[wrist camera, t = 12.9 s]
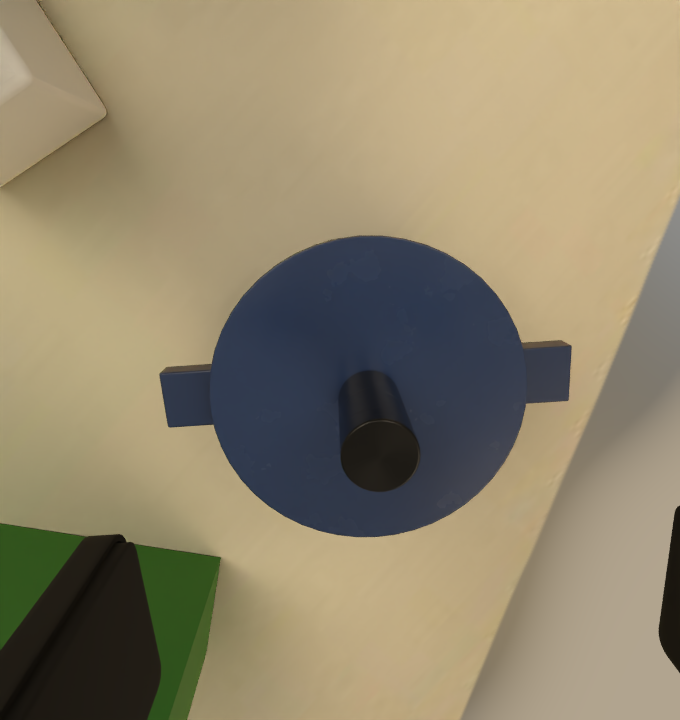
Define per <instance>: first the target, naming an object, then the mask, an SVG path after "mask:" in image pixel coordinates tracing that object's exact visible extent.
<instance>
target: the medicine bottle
mask: <svg viewBox="0 0 680 720" xmlns="http://www.w3.org/2000/svg"><path fill="white" fill-rule="evenodd" d="M106 112H107V111H106V108H105V106H104V105H103V103H102V102H101V100H100V99H99V97H98V96H97V94H96V92H95V91H94V89H93V88H92V86H91V85H90V83H89V82H88V80H87V78H86V77H85V75H84V74H83V72H82V71H81V69H80V68H79V66H78V65H77V63H76V61H75V60H74V58H73V57H72V55H71V54H70V52H69V51H68V49H67V47H66V46H65V44H64V43H63V41H62V40H61V38H60V37H59V35H58V33H57V32H56V30H55V29H54V27H53V26H52V24H51V23H50V21H49V20H48V18H47V16H46V15H45V13H44V12H43V10H42V9H41V7H40V6H39V4H38V2H37V1H36V0H0V187H2V186H3V185H5V184H6V183H8V182H9V181H11V180H12V179H14V178H15V177H17V176H18V175H20V174H21V173H23V172H24V171H25V170H27V169H28V168H30V167H31V166H33V165H34V164H36V163H37V162H39V161H40V160H42V159H43V158H45V157H46V156H48V155H49V154H51V153H52V152H54V151H55V150H57V149H58V148H60V147H61V146H63V145H64V144H66V143H67V142H69V141H70V140H72V139H73V138H74V137H76V136H77V135H79V134H80V133H82V132H83V131H85V130H86V129H88V128H89V127H91V126H92V125H94V124H95V123H97V122H98V121H100V120H101V119H103V118H104V117H105V116H106Z"/></svg>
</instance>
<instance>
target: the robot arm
mask: <svg viewBox="0 0 680 720" xmlns="http://www.w3.org/2000/svg"><path fill="white" fill-rule="evenodd" d="M659 638H660V642H661V645H662V647H663V650H664V652H665V653H666V655H667V656H668V658H669V659H670V660H671V662H672V663H673V664H674V666H675V667H676V668H677V670H678V671H679V673H680V506H678V507H677V508H676V511H675V515H674V522H673V529H672V536H671V543H670V551H669V559H668V566H667V572H666V580H665V587H664V594H663V602H662V609H661V616H660V624H659ZM160 679H161V661H160V657H159V652H158V647H157V643H156V638H155V633H154V629H153V624H152V619H151V615H150V610H149V605H148V601H147V596H146V591H145V587H144V582H143V577H142V573H141V568H140V563H139V559H138V554H137V550H136V547H135V545H134V543H132V542H126V540H125V538H124V537H123V535H120V534H115V535H100V536H88V537H85V538H84V539H83V540H82V541H81V542H80V544H79V545H78V546H77V548H76V549H75V551H74V552H73V553H72V555H71V556H70V557H69V559H68V560H67V561H66V563H65V564H64V565H63V567H62V568H61V569H60V571H59V572H58V573H57V575H56V576H55V577H54V579H53V580H52V582H51V583H50V584H49V586H48V587H47V588H46V590H45V591H44V592H43V594H42V595H41V596H40V598H39V599H38V600H37V602H36V603H35V604H34V606H33V607H32V608H31V610H30V611H29V612H28V614H27V615H26V617H25V618H24V619H23V621H22V622H21V623H20V625H19V626H18V627H17V629H16V630H15V631H14V633H13V634H12V635H11V637H10V638H9V639H8V641H7V642H6V643H5V645H4V646H3V648H2V649H1V650H0V720H147V719H148V716H149V713H150V710H151V708H152V705H153V702H154V699H155V696H156V694H157V691H158V688H159V684H160Z"/></svg>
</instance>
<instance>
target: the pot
mask: <svg viewBox="0 0 680 720" xmlns="http://www.w3.org/2000/svg"><path fill="white" fill-rule="evenodd" d="M333 240H334V239H333ZM328 241H331V240H328ZM326 242H327V241H326ZM521 344H522V347H523V351H524V356H525V362H526V367H527V396H526V404H527V403H542V402H557V401H568V400H569V383H570V365H571V348H572V347H571V345H569V344H567V343H565V342H563V341H561V340H558V341H543V342H528V343H521ZM211 365H212V364H204V365H190V366H175V367H166V368H165V369H164V370H163V371H162V372H161V373H160V381H161V387H162V393H163V399H164V405H165V411H166V417H167V423H168V427H184V426H199V425H214V423H213V419H212V414H211V409H210V395H209V384H210V370H211Z"/></svg>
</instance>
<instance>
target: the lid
mask: <svg viewBox="0 0 680 720" xmlns="http://www.w3.org/2000/svg"><path fill="white" fill-rule="evenodd" d="M209 395H210V409H211V414H212V419H213V423H214V428H215V431H216V434H217V436H218V439H219V442H220V445H221V447H222V449H223V451H224V453H225V455H226V457H227V459H228V461H229V463H230V464H231V466H232V467H233V469H234V470H235V471H236V473H237V474H238V476H239V477H240V479H241V480H242V481H243V482H244V483H245V484H246V485H247V486H248V487H249V489H250V490H251V491H252V492H253V493H254V494H255V495H256V496H258V497H259V498H260V499H261V500H262V501H263V502H265V503H266V504H267V505H268V506H270V507H271V508H273V509H274V510H276V511H277V512H279V513H280V514H282V515H283V516H285V517H287V518H289V519H291V520H293V521H295V522H297V523H299V524H301V525H304V526H307V527H310V528H313V529H316V530H318V531H322V532H327V533H331V534H336V535H342V536H352V537H379V536H387V535H395V534H400V533H404V532H408V531H412V530H415V529H418V528H421V527H424V526H426V525H429V524H432V523H434V522H436V521H438V520H440V519H442V518H444V517H446V516H448V515H450V514H451V513H453V512H454V511H456V510H457V509H459V508H460V507H462V506H463V505H465V504H466V503H467V502H468V501H470V500H471V499H472V498H473V497H474V496H476V495H477V494H478V493H479V492H480V491H481V490H482V489H483V488H484V487H485V486H486V485H487V484H488V483H489V482H490V480H491V479H492V478H493V477H494V476H495V474H496V473H497V472H498V470H499V469H500V467H501V466H502V465H503V463H504V462H505V460H506V458H507V456H508V455H509V453H510V451H511V449H512V447H513V445H514V443H515V440H516V438H517V435H518V433H519V430H520V427H521V424H522V420H523V415H524V411H525V406H526V396H527V367H526V362H525V356H524V351H523V347H522V344H521V341H520V337H519V334H518V331H517V329H516V327H515V325H514V323H513V321H512V319H511V317H510V315H509V313H508V311H507V309H506V308H505V306H504V305H503V303H502V302H501V300H500V299H499V298H498V296H497V295H496V293H495V292H494V291H493V290H492V289H491V288H490V287H489V286H488V285H487V284H486V283H485V281H484V280H483V279H482V278H481V277H479V276H478V275H477V274H476V273H474V272H473V271H472V270H471V269H470V268H468V267H467V266H466V265H465V264H463V263H461V262H460V261H458V260H456V259H455V258H453V257H451V256H450V255H448V254H446V253H444V252H442V251H439V250H437V249H435V248H432V247H430V246H428V245H425V244H422V243H418V242H414V241H411V240H407V239H403V238H396V237H389V236H353V237H346V238H338V239H334V240H331V241H327V242H323V243H320V244H316V245H314V246H311V247H309V248H307V249H304V250H302V251H300V252H297V253H295V254H294V255H292V256H290V257H289V258H287V259H285V260H284V261H282V262H280V263H279V264H277V265H276V266H274V267H273V268H272V269H271V270H269V271H268V272H267V273H266V274H264V275H263V276H262V277H261V278H259V279H258V280H257V281H256V283H255V284H254V285H253V286H252V287H251V288H250V289H249V290H248V291H247V292H246V293H245V294H244V295H243V297H242V298H241V299H240V301H239V302H238V304H237V305H236V306H235V308H234V309H233V311H232V312H231V314H230V316H229V318H228V319H227V321H226V323H225V325H224V327H223V329H222V331H221V334H220V337H219V339H218V342H217V345H216V348H215V351H214V355H213V360H212V365H211V370H210V384H209Z"/></svg>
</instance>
